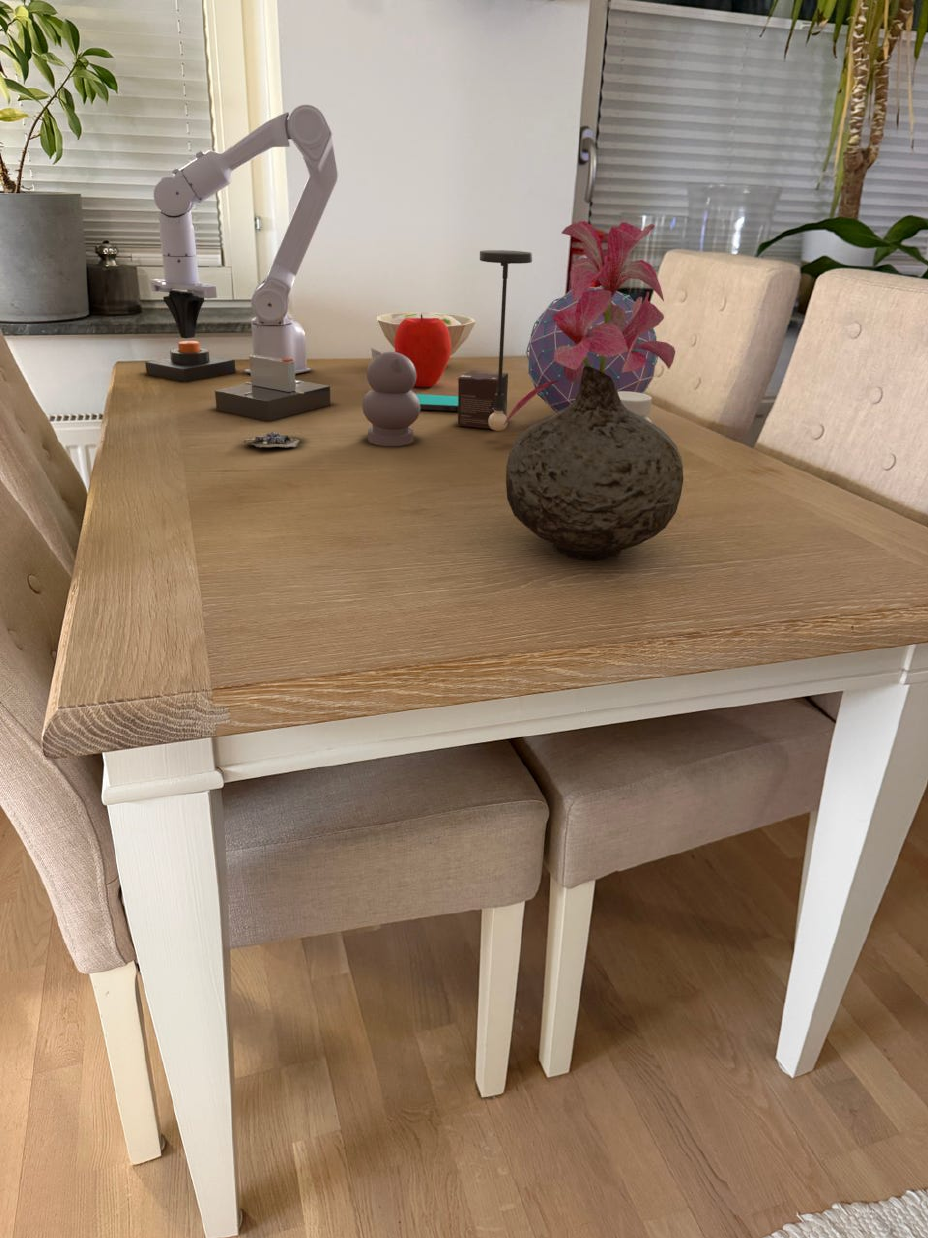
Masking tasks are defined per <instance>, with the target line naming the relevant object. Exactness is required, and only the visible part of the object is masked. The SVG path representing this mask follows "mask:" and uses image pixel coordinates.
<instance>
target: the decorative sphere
mask: <svg viewBox="0 0 928 1238" xmlns="http://www.w3.org/2000/svg"><path fill="white" fill-rule="evenodd" d="M587 290H603V288H602V285H600V286H596V287H595V286H593V287H592V286H590V287H589V288H588V289H587ZM587 290H586V291H587ZM586 291H585V292H586ZM581 296H582V295H581ZM581 296H580V297H581ZM580 297H579V298H578V299H577V300H576V301H574V300H573V295H572V289H571V290H569V291H567V293H565V294H564V295H563V296H561V297H559V298H555V299H552V302H551V303H550V304H549V305H548V306H547V307H546V309H545V310H544V311H543V312H542V313H541V315H540V316H538V318H537V319H536V321H535V322H533V326H532V330H531V333H530V337H529V341H528V343H527V347H526V351H525V354H526V357H527V362H528V367H527V370H528V371H527V375H528V376H529V378H530V380H531V381H532V383H533V387H534V389H535V388H537V387H538V386H541V385H543V384H545V383H549V382H553V381H558V382H556V383H554V384H552V385H550V386H548V387H546V388H545V389H543V390H541V391H540V392H538V393H537V394H536V395H537V396H539V398H541V400H542V401H543V402H545V403H546V404H547V406H548V407H549V408H551V410H553V412H554V414H555V413H557V412H559V411H561V410H563V409H565V408H567V407H568V406H569V405H570V404H572V403H573V402H574V401H575V399H576V397H577V394H578V392H579V387H580V383H578V382H572V381H570V380H568V379H567V378H566V377H565V375H564V367H565V366H563V365H561V364H559V363H557V362H555V359H554V354H555V351H556V350H557V349H558V348H559V346H565V345H568V346H574V342H573V341H572V340H571V339H570V338H569V337H568V336H567V335H565V334H564V333H563V332H562V331H561V330H560V328H559V327H558V326H557V325H556V323H555V322H554V320H553V318H552V316H553V314H555V313H557V312H559V311H561V310H563V309H566V308H569V307H572V306H574V305H576V304H577V303H578V301H579V299H580ZM635 301H636V300H634V299H633V298H632V297H631V296H630V294H626V293H622V292H621V291H618V290H617V291H616V292H615V294H614V295H613V297H612V299H611V305H617V306H619V307H621V308H622V309H623V310H624V311H625V313H626V318H627V321H626V322H625V324H624V326H623V328H624V327H625V326H626V325H627V324H628V322H629V321H630V319H631V317H632V314H633V311H632V310H631V307H632V306H633V305H634V303H635ZM640 307H641V306H640ZM639 309H640V308H639ZM604 321H605V316H603V315H602V314H601V315H600V316H599V317H598V319H597V320H596V321H595V322H594V323H593V324H592V325H591V326H590V328H589V330H588V331H587V333H588V332H589V331H590V330H591V329H592V328H593V327H594V326H595V325H599V324H602V323H604ZM609 323H611V322H610V320H609ZM623 328H622V329H623ZM622 329H621V330H622ZM587 333H586V335H587ZM586 335H585V336H586ZM657 339H658V337H657V333H656V332H655V328H653V329H651V330H650V331H648V332H646V333H644V334H642V335H640V336H638V339H637V342H636V344H637V343H642V342H648V341H653V340H655V341H658V340H657ZM579 343H580V342H579ZM633 351H637V352H641V353H642V354H643V355H645V356H646V363H645V365H644V366H643V367H642V368H641V369H639V370H636V371H629V372H621V371H622V367H623V364H624V362H625V358H626V355H627V354H623V353H621V354H618V355H615V356H612V357H606V360H605V371H604V373H605V374H607V375H608V376H610V377H611V378H612V380H613V382H614V384H615V386H616V389H617V392H619V391H627V392H637V393H643V394H645V392H646V390H647V389H648V388H649V385H650V383H651V382H652V381H653V379H654V378H655V372H656V366H657V363H658V360H659V357H658V356H657V355H655V354H654V353H652V352H651V351H647V350H643V349H639V348H638V349H634V350H633ZM586 358H587V360H588V362H589V365H590V367H592V368H595V369H597V370H599V371H600V364H601V356H600V355H597V354H595V353H593V352H590V351H589V352H588V354H587V356H586ZM582 365H583V368H584V366H585V364H584V362H583V361H582Z"/></svg>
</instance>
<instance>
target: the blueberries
mask: <svg viewBox="0 0 928 1238" xmlns="http://www.w3.org/2000/svg"><path fill="white" fill-rule="evenodd" d="M300 442H301V440H300V439H297V438H292V437H290V436H289V435H288V434H285V435H282V434H281V433H276V431H272V432H271V433H266V435H263V436H262V435H259V436H256V437H248V438H245V439H244V440H243V444H248V445H253V446H255V447H256V448H260V449H261V448H275V447H279V448H297V447H298V444H299V443H300Z"/></svg>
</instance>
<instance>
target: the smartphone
mask: <svg viewBox="0 0 928 1238" xmlns="http://www.w3.org/2000/svg"><path fill="white" fill-rule="evenodd" d="M415 395H416V396H417V398H418V400H419V403H420V408H421V409H420V410H426V411H427V410H431V411H433V410H434V411H449V412H451V411H453V412H458V395H450V394H449V395H446V394H426V393H425V394H424V393H415Z"/></svg>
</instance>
